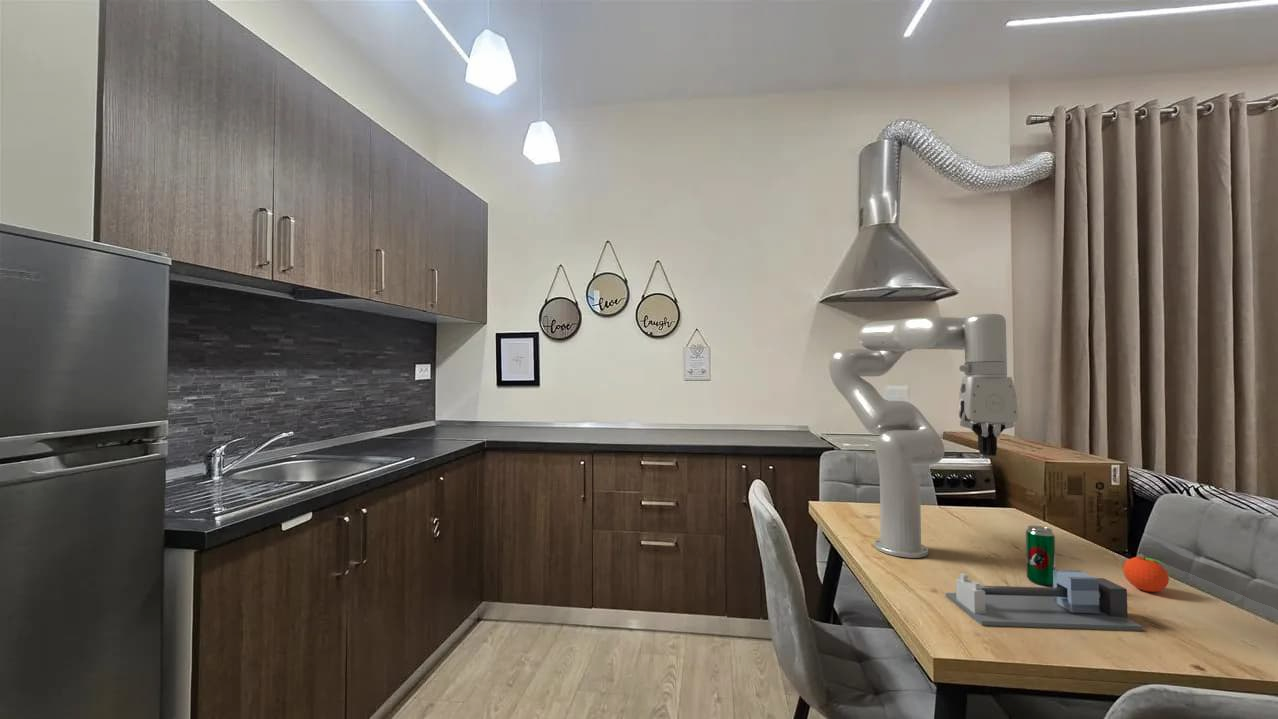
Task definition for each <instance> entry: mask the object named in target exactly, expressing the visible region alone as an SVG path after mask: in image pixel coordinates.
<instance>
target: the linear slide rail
mask: <svg viewBox="0 0 1278 719" xmlns="http://www.w3.org/2000/svg"><path fill="white" fill-rule="evenodd" d="M959 574H960V577H959V578H957V577H956V578H955V582H956V583H955V586H956V592H945V597H946V598H947V599H948V600H950V602H952V603H953V604H955V605H956V606H957V607H958V608H960V610H962V611H963V612H964V613H966V614H967V615H969V617H971V619H973V620H974V621H976V622H977V623H978V624H979V625H981V626H983V627H984V626H987V627H988V626H990V627H993V626H994V627H1013V628H1014V627H1016V628H1017V627H1021V628H1044V629H1045V628H1049V629H1050V628H1051V629H1052V628H1053V629H1076V630H1077V629H1080V630H1105V631H1106V630H1108V631H1109V630H1110V631H1111V630H1112V631H1135V632H1136V631H1137V632H1139V631H1142V632H1143V629H1144V628H1143V625H1141V624H1139V623H1137V622H1135V621H1134V620H1132V619H1130V618H1129V617H1128V616H1129V615H1128V613H1129V612H1128V589H1127V588H1125V587H1123V586H1121V585H1119V584H1117V583H1114V582H1113V581H1110V580H1108V579H1106V578H1104V577H1103V578H1102V577H1095V578H1096V579H1098V580H1099V613H1076V612H1070V611H1069V610H1067V609H1065V608H1063V607H1062V606H1060V605H1058V604H1057V603H1055V602H1054V597H1068V594H1067V588H1053V587H1048V586H1045V587H1044V586H1043V587H1041V586H1033V587H1032V586H1006V585H1004V586H1003V585H1001V586H1000V585H981V584H980V582H978V581H971V580H969V578H968V574H966V573H959Z"/></svg>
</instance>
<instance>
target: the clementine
mask: <svg viewBox="0 0 1278 719" xmlns="http://www.w3.org/2000/svg"><path fill="white" fill-rule="evenodd" d="M1160 563H1161V564H1160ZM1162 564H1164V562H1162V561H1161V560H1158V559H1154V558H1148V557H1147V556H1146V557H1145V556H1135V557H1132V558H1129V559H1127V560H1126V561H1125V563H1124V564H1123V568H1122V569H1123V571H1122V572H1123V575H1124V578H1125V579H1126V580H1127V582H1129V583H1130V584H1131V585H1132V586H1133V587H1134V588H1137V589H1138V590H1142V591H1143V592H1149V593H1150V592H1153V593H1154V592H1156V593H1157V592H1161V591H1163V590H1164V589H1165V588H1166V587H1167V586H1168V585H1169V580H1170V578H1169V573H1168V571H1167V570H1166V568H1165V567H1164V566H1163V565H1162ZM1166 566H1167V567H1168V568H1169V569H1170V570H1171V571H1172V574H1173V573H1174V571H1173V569H1172V568H1171V567H1170V566H1169V565H1168V564H1166Z"/></svg>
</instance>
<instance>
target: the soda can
mask: <svg viewBox="0 0 1278 719" xmlns="http://www.w3.org/2000/svg"><path fill="white" fill-rule="evenodd" d="M1025 548H1026V549H1025V553H1026V555H1025V556H1026V578H1027V579H1028V580H1029V581H1030V582H1032V583H1034V584H1036V585H1040V586H1043V587H1044V586H1045V587H1053V570H1057V569H1056V566H1057V565H1056V563H1057V562H1056V536H1055V533H1054V532H1053V529H1051V528H1049V527H1046V526H1041V525H1028V526H1027V529H1025Z"/></svg>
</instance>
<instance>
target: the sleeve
mask: <svg viewBox="0 0 1278 719" xmlns="http://www.w3.org/2000/svg"><path fill="white" fill-rule="evenodd" d="M1096 578H1097V577H1094V576H1092V575H1090V574H1087V573H1085V572H1083V571H1081V570H1075V569H1074V570H1073V569H1072V570H1071V569H1070V570H1069V569H1068V570H1067V569H1056V570H1053V586H1052V588H1067V594H1068V597H1054V602H1055V603H1057V604H1058V605H1060V606H1062V607H1063V608H1065V609H1067V610H1069V611H1070V612H1076V613H1099V580H1098V579H1096Z"/></svg>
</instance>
